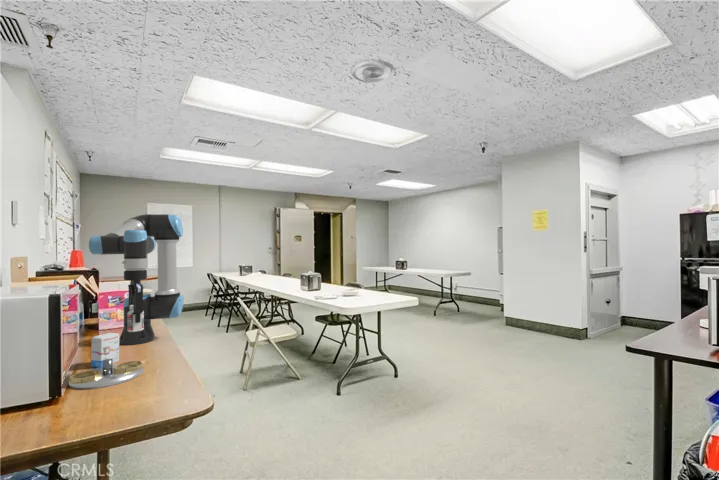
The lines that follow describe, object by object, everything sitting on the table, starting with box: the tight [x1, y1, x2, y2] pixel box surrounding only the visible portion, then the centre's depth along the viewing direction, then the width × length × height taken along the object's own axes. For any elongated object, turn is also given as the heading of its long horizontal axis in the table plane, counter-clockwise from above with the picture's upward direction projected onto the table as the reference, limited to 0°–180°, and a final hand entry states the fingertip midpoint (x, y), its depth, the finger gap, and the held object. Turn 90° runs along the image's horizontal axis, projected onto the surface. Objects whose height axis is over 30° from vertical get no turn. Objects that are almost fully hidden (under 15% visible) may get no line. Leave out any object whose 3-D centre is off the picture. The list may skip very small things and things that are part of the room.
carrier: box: [68, 359, 144, 390], centre depth 128 cm, size 22×22×6 cm
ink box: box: [90, 332, 120, 368], centre depth 142 cm, size 9×5×12 cm, turn 168°
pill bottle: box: [127, 305, 144, 332], centre depth 134 cm, size 5×5×10 cm
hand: (135, 329), depth 134 cm, fingers closed on pill bottle, 5 cm apart
